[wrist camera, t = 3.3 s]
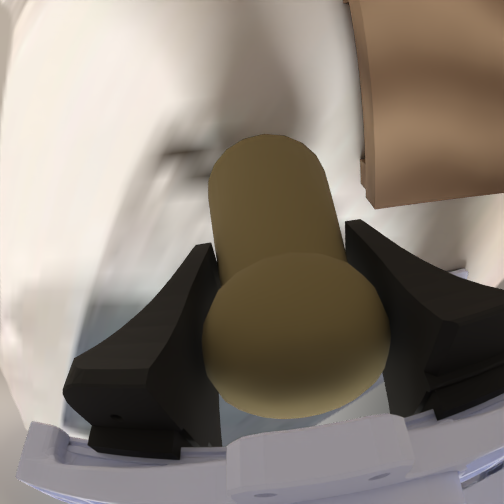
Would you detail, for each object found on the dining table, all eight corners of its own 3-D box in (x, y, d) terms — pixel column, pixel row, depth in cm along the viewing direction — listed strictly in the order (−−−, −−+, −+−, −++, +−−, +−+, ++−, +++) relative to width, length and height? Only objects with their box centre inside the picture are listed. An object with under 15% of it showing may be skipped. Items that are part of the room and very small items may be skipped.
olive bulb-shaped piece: (219, 122, 14) (190, 299, 5) (342, 150, 15) (467, 324, 6) (199, 231, 17) (175, 432, 8) (305, 248, 18) (354, 435, 9)
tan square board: (506, 172, 18) (530, 190, 15) (358, 186, 19) (374, 209, 16) (507, 6, 10) (535, 7, 8) (334, -25, 11) (351, -38, 9)
